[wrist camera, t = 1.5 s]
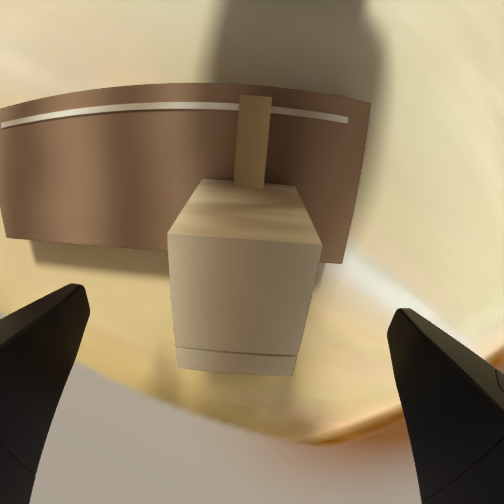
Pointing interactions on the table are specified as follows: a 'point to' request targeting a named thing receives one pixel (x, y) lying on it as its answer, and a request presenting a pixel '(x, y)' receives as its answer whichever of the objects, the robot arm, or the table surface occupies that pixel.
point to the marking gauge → (242, 264)
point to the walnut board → (168, 160)
